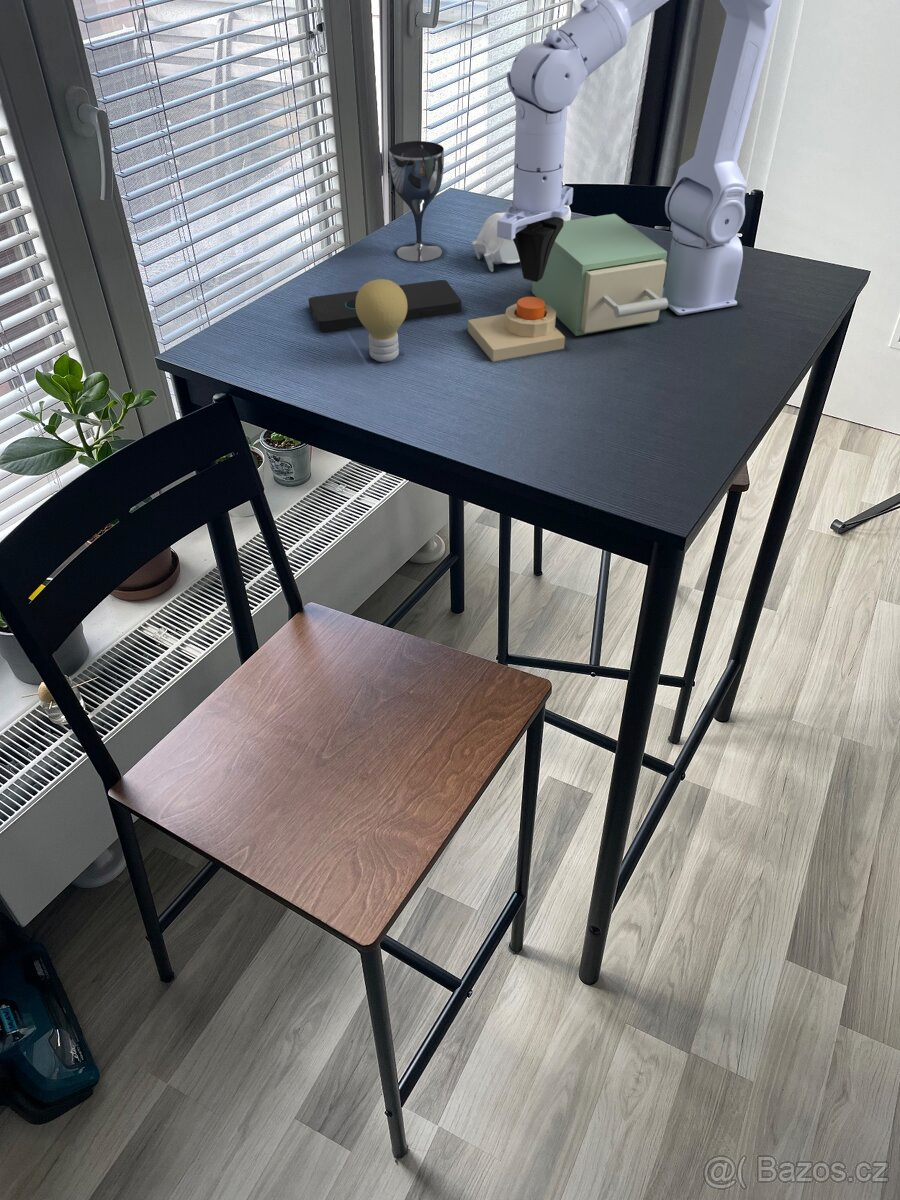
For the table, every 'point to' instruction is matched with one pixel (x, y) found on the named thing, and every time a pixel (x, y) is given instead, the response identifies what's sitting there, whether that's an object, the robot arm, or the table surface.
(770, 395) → the table surface
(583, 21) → the robot arm
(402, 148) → the wine glass
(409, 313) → the smart home device
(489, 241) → the white pig figurine
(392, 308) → the light bulb
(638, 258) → the green drawer cabinet
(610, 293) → the cream pull-out drawer
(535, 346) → the control block
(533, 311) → the button
